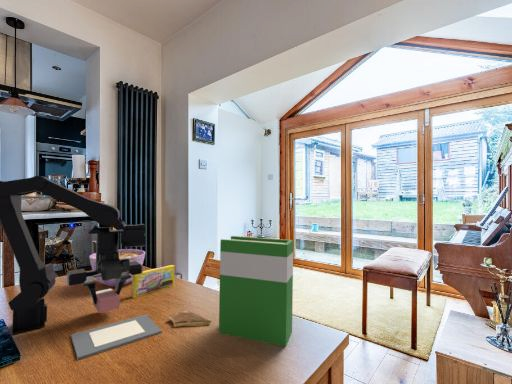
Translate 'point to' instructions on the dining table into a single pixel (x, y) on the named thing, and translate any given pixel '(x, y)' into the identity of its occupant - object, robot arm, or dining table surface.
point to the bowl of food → (123, 254)
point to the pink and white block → (107, 300)
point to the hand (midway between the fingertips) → (105, 301)
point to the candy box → (152, 280)
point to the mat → (113, 335)
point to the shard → (188, 319)
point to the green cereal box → (256, 289)
